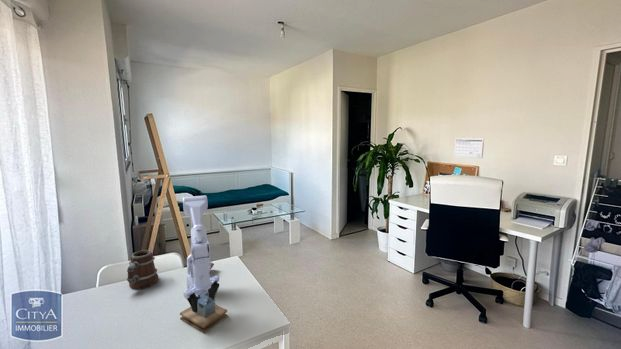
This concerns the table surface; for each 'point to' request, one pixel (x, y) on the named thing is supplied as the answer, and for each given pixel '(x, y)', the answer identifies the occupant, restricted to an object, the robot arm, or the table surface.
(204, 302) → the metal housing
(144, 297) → the table surface
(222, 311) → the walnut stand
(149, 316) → the table surface
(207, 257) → the robot arm
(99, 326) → the table surface
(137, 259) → the brown wooden bucket
